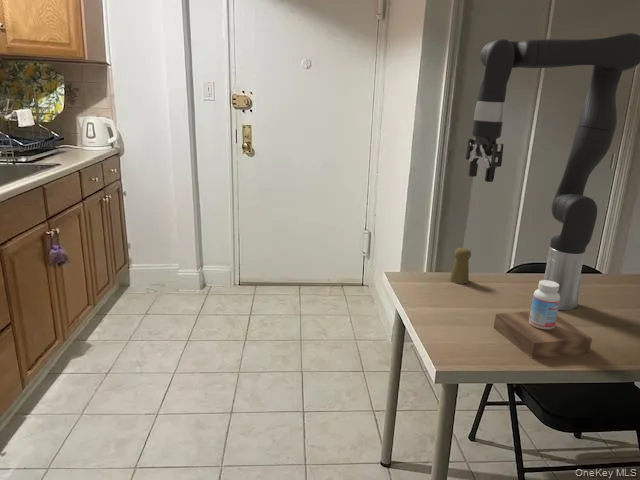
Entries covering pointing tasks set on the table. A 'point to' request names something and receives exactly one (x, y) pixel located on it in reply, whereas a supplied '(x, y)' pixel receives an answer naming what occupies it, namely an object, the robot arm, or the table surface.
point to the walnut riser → (542, 336)
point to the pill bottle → (545, 305)
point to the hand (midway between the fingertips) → (480, 178)
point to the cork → (461, 266)
